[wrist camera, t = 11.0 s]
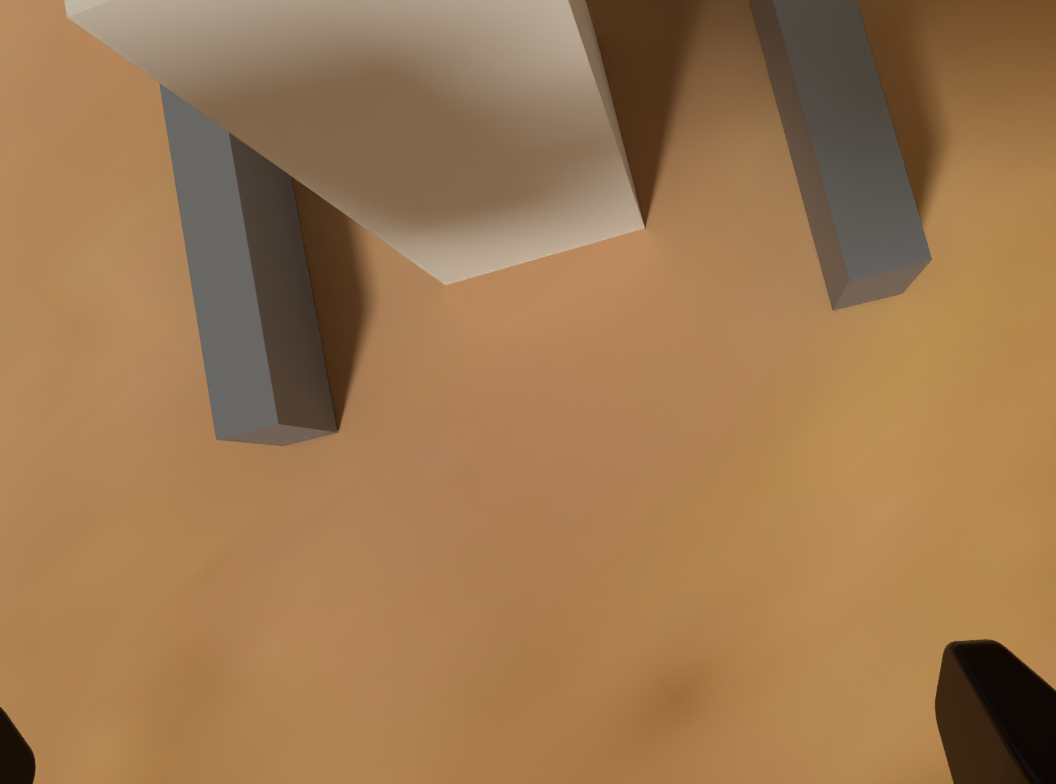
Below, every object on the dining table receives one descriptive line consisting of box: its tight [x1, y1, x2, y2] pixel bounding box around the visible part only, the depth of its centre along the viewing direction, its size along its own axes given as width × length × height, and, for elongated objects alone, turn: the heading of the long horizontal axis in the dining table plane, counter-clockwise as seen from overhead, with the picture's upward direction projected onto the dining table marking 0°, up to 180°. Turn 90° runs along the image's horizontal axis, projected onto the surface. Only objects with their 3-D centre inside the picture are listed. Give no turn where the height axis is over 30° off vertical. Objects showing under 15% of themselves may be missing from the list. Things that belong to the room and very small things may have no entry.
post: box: [64, 0, 645, 285], centre depth 16 cm, size 5×5×13 cm
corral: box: [160, 0, 932, 446], centre depth 21 cm, size 12×15×3 cm
